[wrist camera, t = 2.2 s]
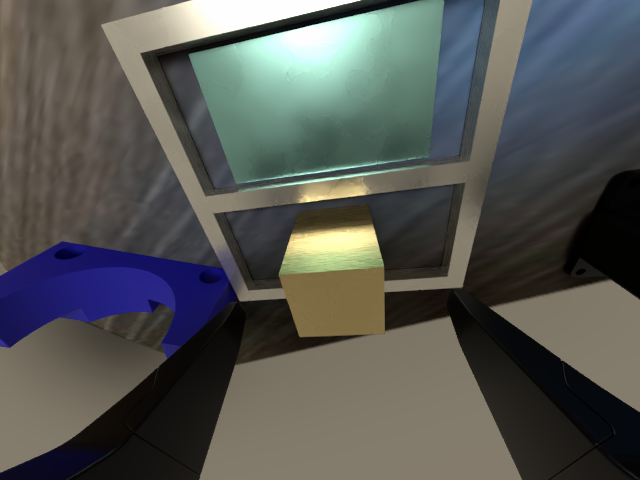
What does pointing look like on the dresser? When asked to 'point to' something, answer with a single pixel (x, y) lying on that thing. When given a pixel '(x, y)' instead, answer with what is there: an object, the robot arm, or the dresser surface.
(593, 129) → the dresser surface
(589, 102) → the dresser surface
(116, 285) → the cable clip
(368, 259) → the yellow rectangular block
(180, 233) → the dresser surface
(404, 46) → the grey divided frame
